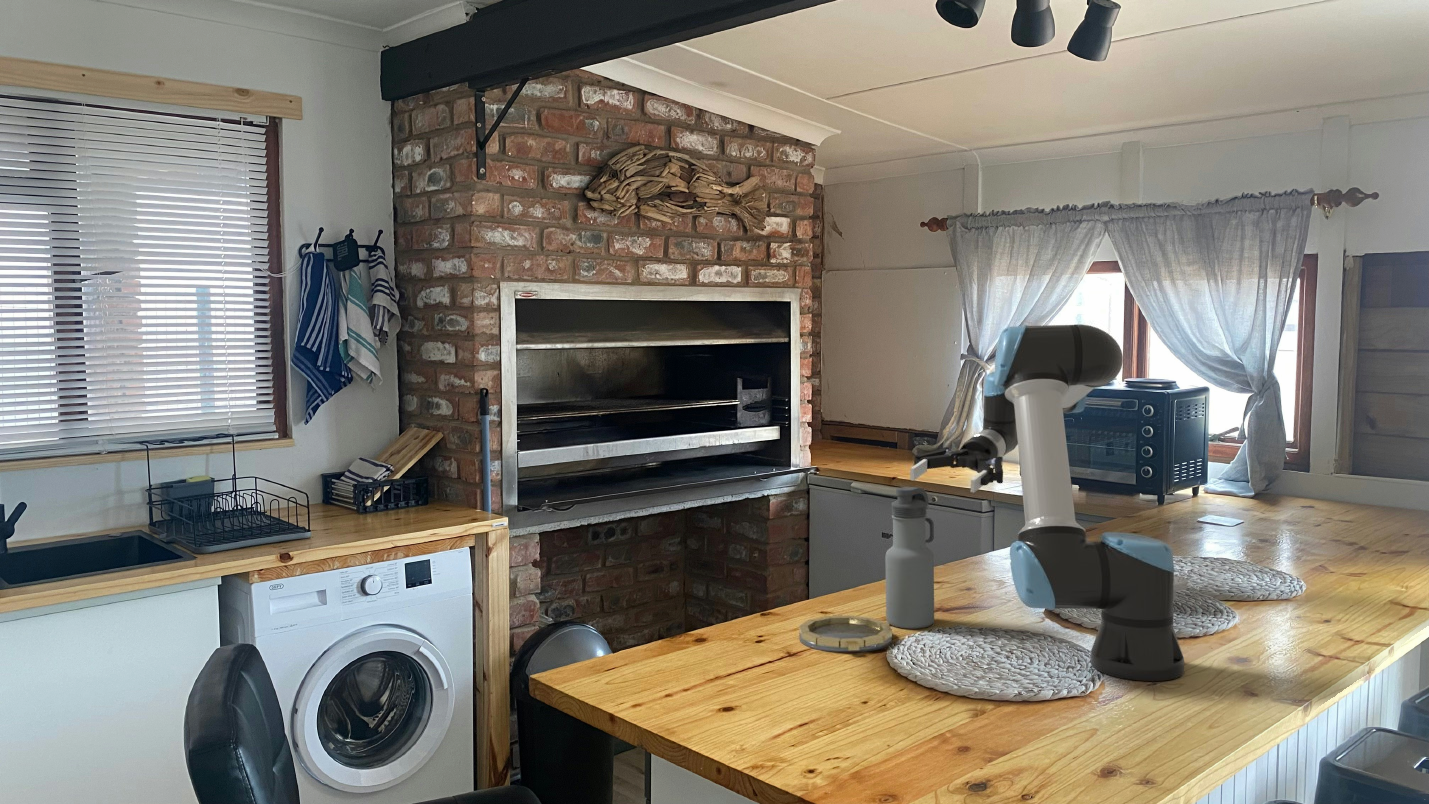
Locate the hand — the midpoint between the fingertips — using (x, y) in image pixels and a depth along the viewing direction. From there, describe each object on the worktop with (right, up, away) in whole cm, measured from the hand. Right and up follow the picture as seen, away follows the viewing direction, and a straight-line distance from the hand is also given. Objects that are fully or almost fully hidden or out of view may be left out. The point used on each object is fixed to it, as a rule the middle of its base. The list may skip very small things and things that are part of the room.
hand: (941, 480), depth 212 cm
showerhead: (+48, -28, +4) cm, 55 cm away
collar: (-22, -30, -13) cm, 39 cm away
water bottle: (-7, -29, -3) cm, 30 cm away
